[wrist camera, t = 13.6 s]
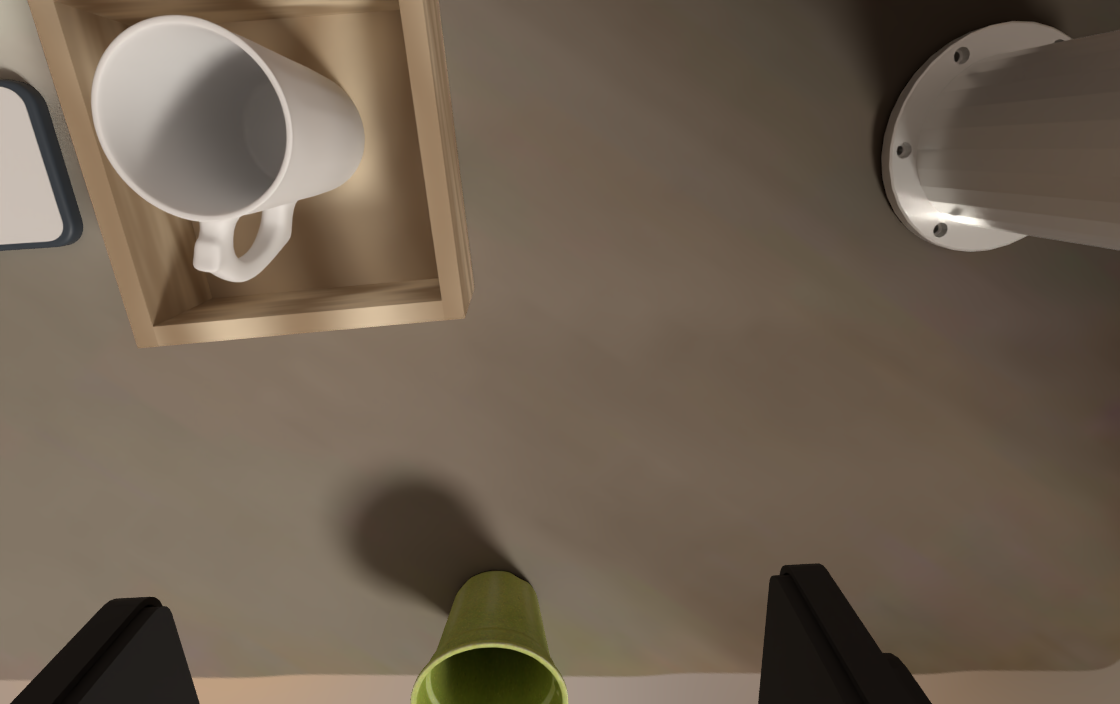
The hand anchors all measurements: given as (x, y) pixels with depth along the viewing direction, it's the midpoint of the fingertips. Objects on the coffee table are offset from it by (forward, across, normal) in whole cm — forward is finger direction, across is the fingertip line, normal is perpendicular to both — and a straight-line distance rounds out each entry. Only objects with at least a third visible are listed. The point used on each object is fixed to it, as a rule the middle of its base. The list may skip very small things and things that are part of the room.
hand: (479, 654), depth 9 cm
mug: (+28, +12, -7) cm, 31 cm away
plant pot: (+29, +4, +24) cm, 38 cm away
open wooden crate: (+28, +12, -7) cm, 32 cm away
